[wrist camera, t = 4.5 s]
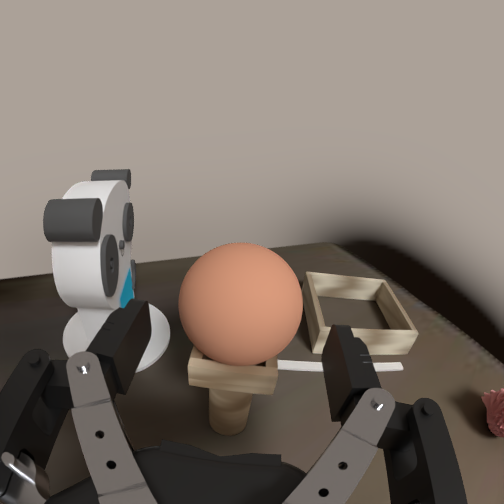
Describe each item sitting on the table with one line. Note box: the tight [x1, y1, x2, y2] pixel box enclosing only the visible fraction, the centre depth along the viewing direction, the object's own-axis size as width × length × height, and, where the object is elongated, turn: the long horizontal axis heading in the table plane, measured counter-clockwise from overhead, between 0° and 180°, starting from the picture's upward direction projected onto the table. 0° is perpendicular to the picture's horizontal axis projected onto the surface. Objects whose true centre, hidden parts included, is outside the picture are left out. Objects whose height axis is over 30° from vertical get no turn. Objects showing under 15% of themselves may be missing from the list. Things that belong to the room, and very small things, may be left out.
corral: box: [302, 272, 418, 355], centre depth 31 cm, size 11×11×3 cm
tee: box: [188, 345, 278, 436], centre depth 17 cm, size 4×4×9 cm
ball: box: [178, 243, 303, 366], centre depth 14 cm, size 6×6×6 cm
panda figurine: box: [43, 169, 170, 373], centre depth 21 cm, size 12×11×15 cm
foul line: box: [278, 360, 403, 371], centre depth 24 cm, size 18×1×1 cm, turn 87°
